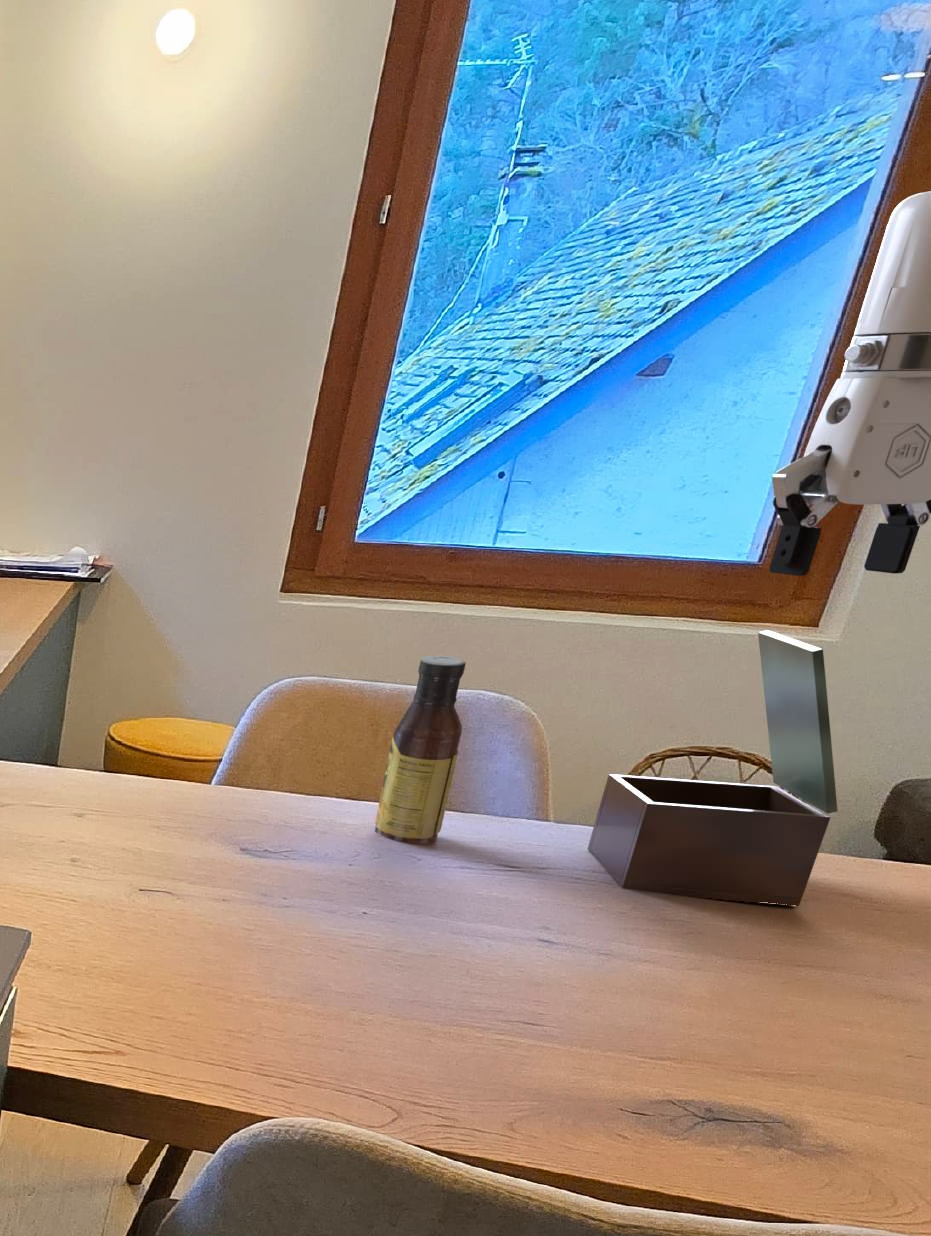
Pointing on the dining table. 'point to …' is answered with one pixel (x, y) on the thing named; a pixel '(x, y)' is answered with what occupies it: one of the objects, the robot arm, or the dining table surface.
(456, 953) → the dining table surface
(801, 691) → the lid
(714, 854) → the chest
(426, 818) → the sauce bottle
